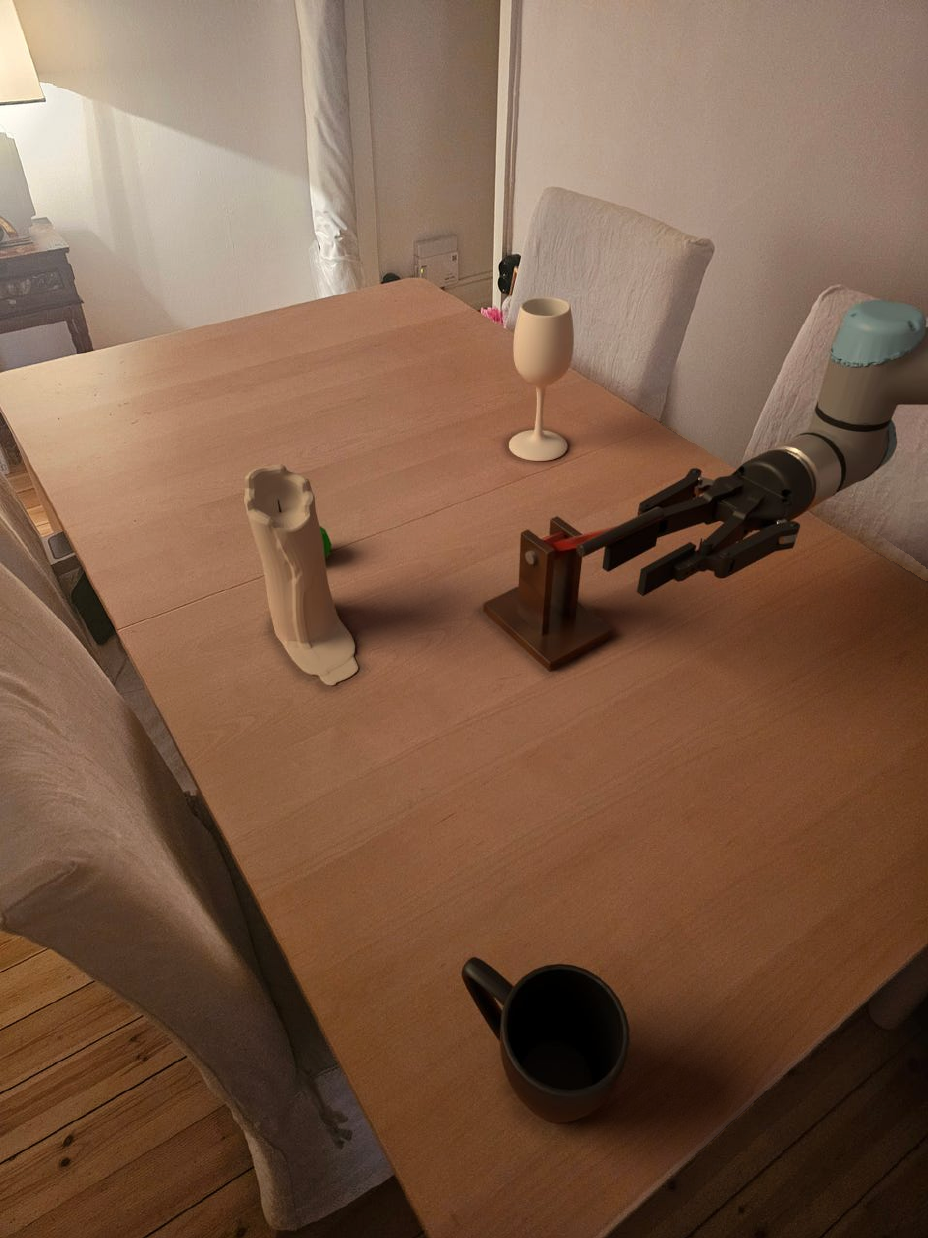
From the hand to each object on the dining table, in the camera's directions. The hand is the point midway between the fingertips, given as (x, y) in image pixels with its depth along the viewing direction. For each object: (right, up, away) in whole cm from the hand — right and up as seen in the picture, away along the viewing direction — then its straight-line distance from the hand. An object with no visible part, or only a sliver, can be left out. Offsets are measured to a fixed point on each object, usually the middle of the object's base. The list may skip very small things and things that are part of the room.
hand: (624, 570), depth 75 cm
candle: (-31, -7, +17) cm, 36 cm away
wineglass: (-4, +21, +48) cm, 52 cm away
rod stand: (-5, -5, +19) cm, 20 cm away
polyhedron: (-34, +3, +28) cm, 44 cm away
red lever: (-2, +2, +7) cm, 7 cm away
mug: (-10, -37, -15) cm, 41 cm away
